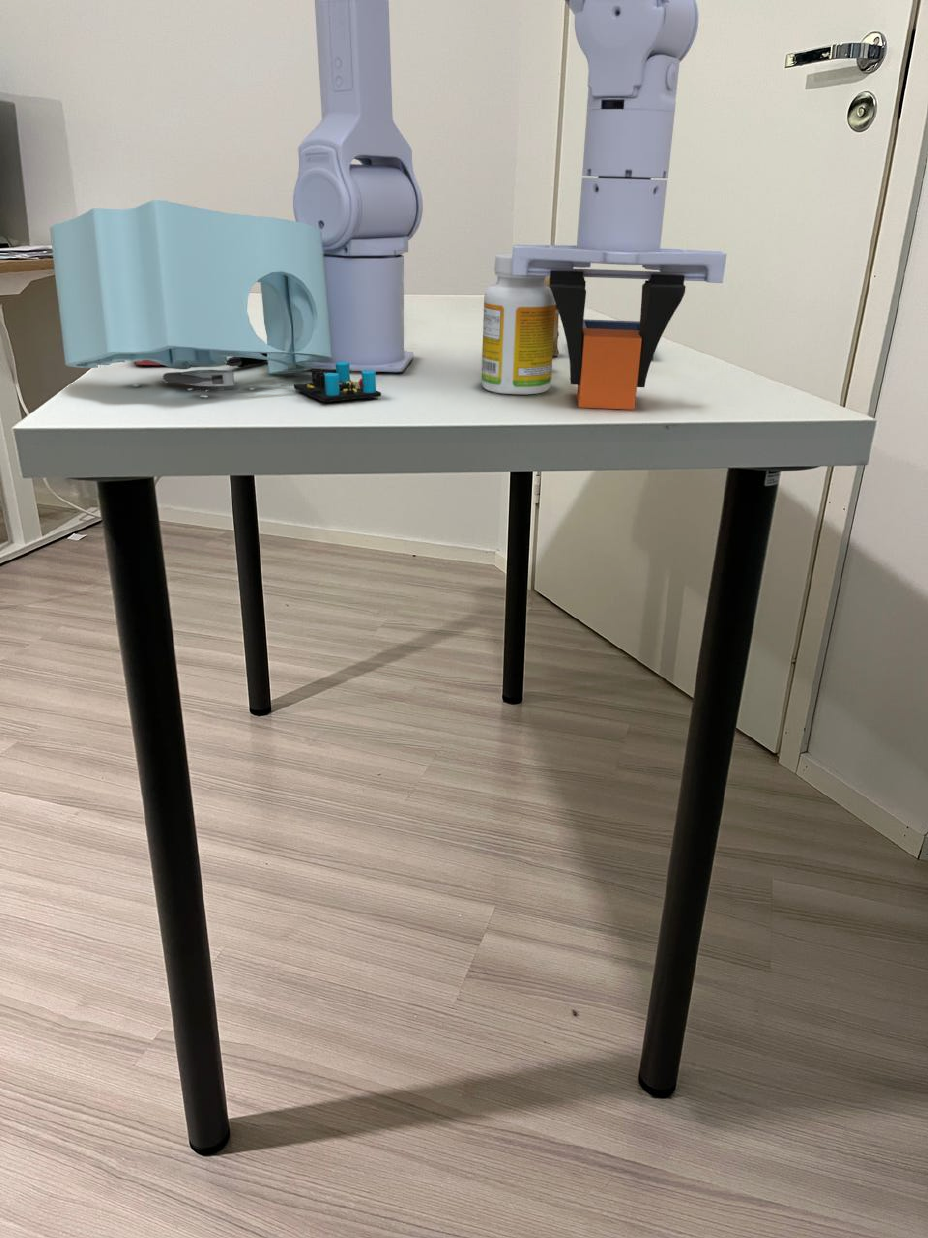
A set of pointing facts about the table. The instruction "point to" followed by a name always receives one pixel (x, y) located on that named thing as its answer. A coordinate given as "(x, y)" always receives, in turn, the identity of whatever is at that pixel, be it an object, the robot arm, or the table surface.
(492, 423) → the table surface
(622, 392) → the orange rectangular block
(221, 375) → the grey piece
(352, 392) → the circuit board
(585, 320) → the blue square tray
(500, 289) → the supplement bottle
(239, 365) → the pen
